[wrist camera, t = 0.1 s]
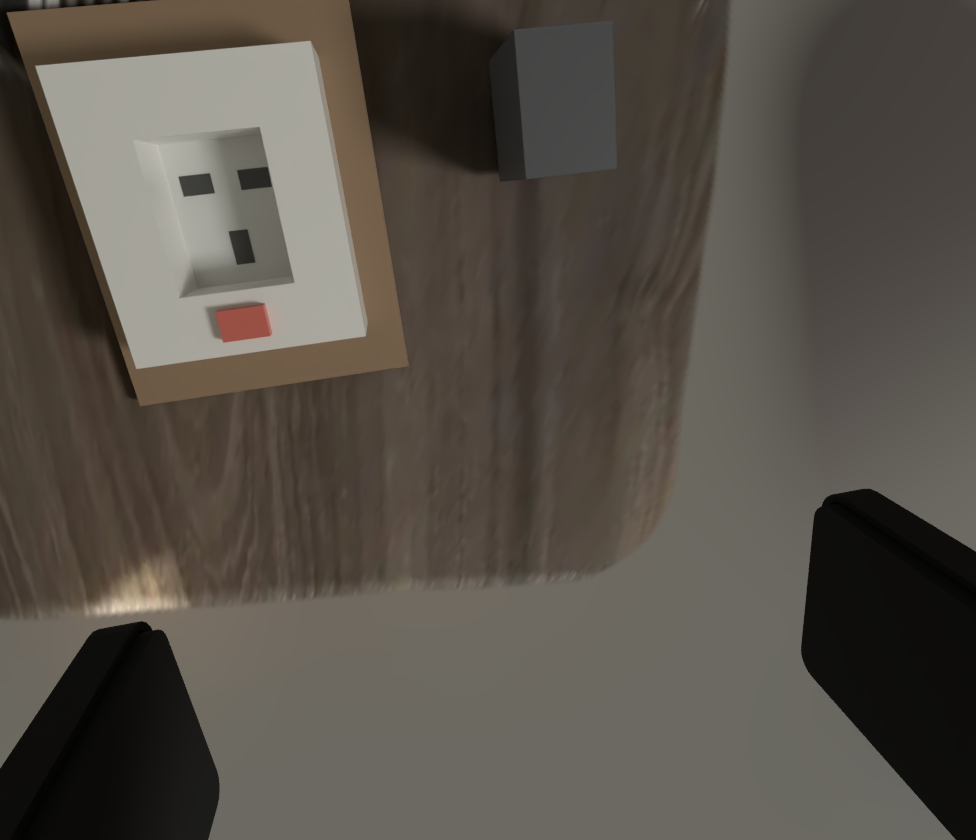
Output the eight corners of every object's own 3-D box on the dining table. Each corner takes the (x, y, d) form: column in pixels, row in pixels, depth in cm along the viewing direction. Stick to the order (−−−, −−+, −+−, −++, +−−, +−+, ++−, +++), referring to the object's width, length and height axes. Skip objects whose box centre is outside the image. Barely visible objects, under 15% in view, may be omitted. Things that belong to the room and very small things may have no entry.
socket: (18, 17, 30) (-53, -16, 25) (347, -10, 32) (340, -46, 27) (146, 400, 37) (110, 431, 32) (408, 361, 39) (411, 385, 34)
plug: (485, 66, 34) (514, 29, 26) (562, 58, 34) (612, 20, 27) (496, 181, 36) (526, 179, 28) (568, 173, 36) (616, 168, 29)
